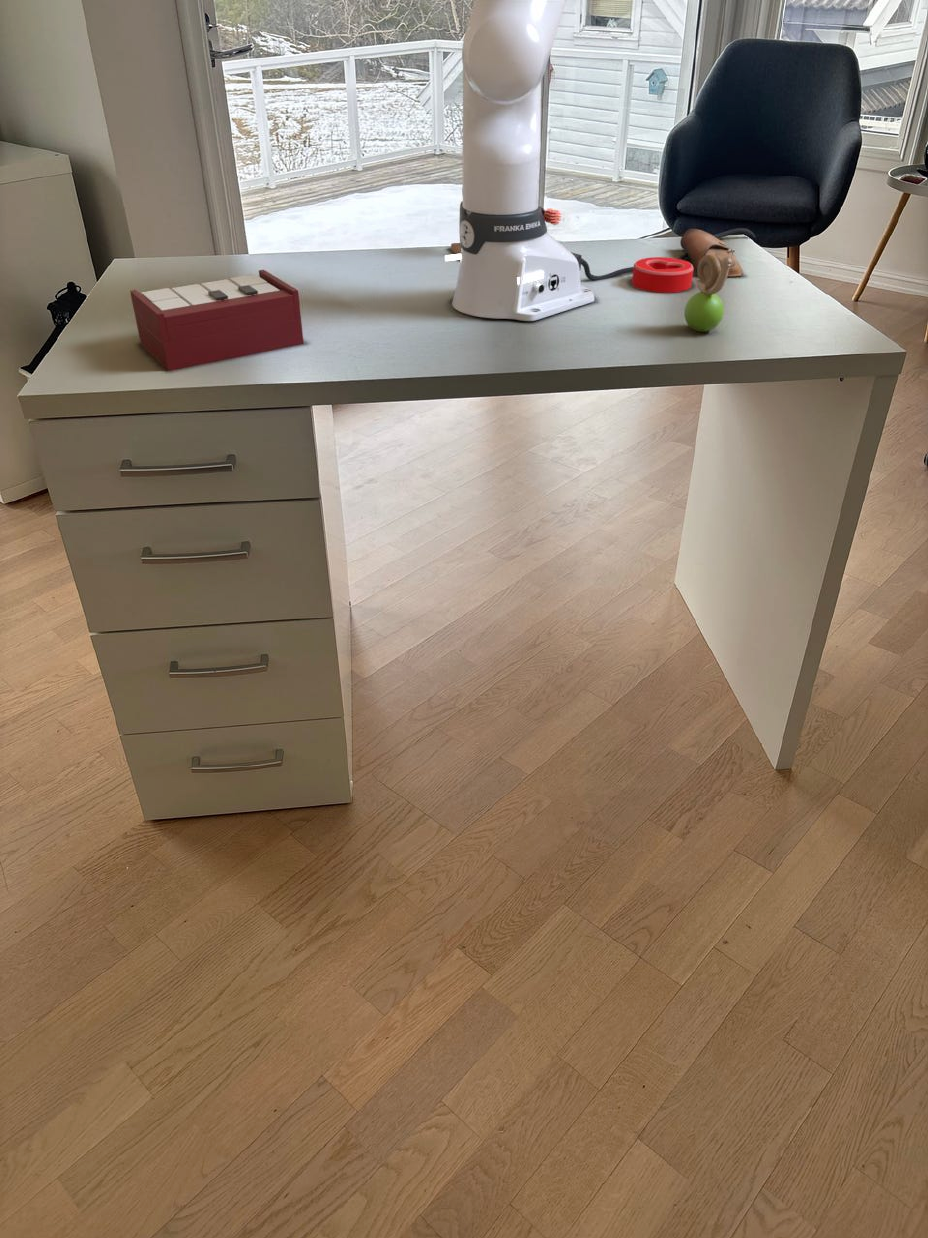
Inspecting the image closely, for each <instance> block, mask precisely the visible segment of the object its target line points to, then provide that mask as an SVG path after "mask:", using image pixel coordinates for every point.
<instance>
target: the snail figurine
mask: <svg viewBox="0 0 928 1238" xmlns="http://www.w3.org/2000/svg"><path fill="white" fill-rule="evenodd" d="M735 251H736V250H735V249H734V248H730V249H728V250H727V253H728V256H729V253H730V252H731V253H732V255H734V253H735ZM731 259H732V257H731V258H729V257H725V258H723V260H722V267H721V266H720V263H719V261H718V259H717V258H716V257H715V256H713V255H705V256H703V257H702V258H701V260H700V261H699V264H698V268H697V272H696V273H697V277H698V279H696V280H695V285H696V288H697V289H698V291H700V292H697V293H695V294H693V295H692V296H691V297H690V298H689V299H688V300H687V302H686V305H685V307H684V313H683V314H684V319H685V322H686V324H687V325H688V327H690V328H691V329H692V330H694V331H697V332H701V333H702V332H705V333H706V332H709V331H712V330H713V329H715V328H716V327H717V326H718V325H719V324H720V323H721V321H722V319H723V317H724V313H725V308H724V303H723V301H722V299H721V297H720V296H719V295H717V294H718V293H719V292H720V291H721V290H722V289H723V287H724V286H725V283H726V282H727V278H728V277H727V275H728V272H729V268H730V266H731V264H732V260H731Z"/></svg>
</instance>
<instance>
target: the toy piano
mask: <svg viewBox="0 0 928 1238" xmlns="http://www.w3.org/2000/svg"><path fill="white" fill-rule="evenodd" d="M258 276H259V277H260V278H262V279H263V280H265V281H267V283H265V284H259V285H253V286H249V285H247V286H240V287H238V286H236V285H235V284H233V283H232V282H230V279H229V280H228V279H227V278H226V279H220V280H214V281H207V282H202V283H201V284H199V283H193V284H188V285H182V286H176V287H171V291H173V292H174V293H175V294H177V295H178V296H179V298H174V299H168V300H162V301H156V302H152V303H151V302H149V301H148V300H147V299H146V298H145V297H144V296H142V295H141V292H139V291H138V290H137V289H131V290H130V291H129V292H130V297H131V303H132V307H133V312H134V318H135V321H136V322H135V323H136V327H137V331H138V337H139V342H140V345H141V347H143V348H144V349H145V350H146V351H147V352H148V353H149V354H150V355H151V356H152V357H153V358H154V359H155V360H156V361H157V362H158V363H159V364H160V365H161V366H162V367H163V368H165V369H166V371H168V372H171V371H172V372H173V371H176V370H182V369H187V368H191V367H196V366H202V365H207V364H212V363H216V362H221V361H226V360H231V359H237V358H241V357H247V356H250V355H256V354H261V353H266V352H271V351H276V350H282V349H286V348H291V347H296V346H302V345H304V343H305V342H304V334H303V333H304V332H303V323H302V315H301V305H300V304H301V303H300V295H299V294H300V293H299V290H298V289H297V288H296V287H293V286H292V285H290V284H289V283H287V282H285V281H283V280H282V279H280V278H278V277H277V276H276V275H273V274H272V273H271V272H269V271H267V270H266V269H259V270H258Z"/></svg>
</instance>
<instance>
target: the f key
mask: <svg viewBox="0 0 928 1238" xmlns="http://www.w3.org/2000/svg"><path fill="white" fill-rule="evenodd" d="M140 294H141V295H142V296H144V297H145V298H146V299H147V300H148V301H149V302H151V303H152V302H156V301H162V300H168V299H174V298H179V296H178V295H177V294H175V293H174V292H173V291H172V289H170V288H169V287H165V288H159V289H154V290H148V291H142V292H140Z"/></svg>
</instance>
